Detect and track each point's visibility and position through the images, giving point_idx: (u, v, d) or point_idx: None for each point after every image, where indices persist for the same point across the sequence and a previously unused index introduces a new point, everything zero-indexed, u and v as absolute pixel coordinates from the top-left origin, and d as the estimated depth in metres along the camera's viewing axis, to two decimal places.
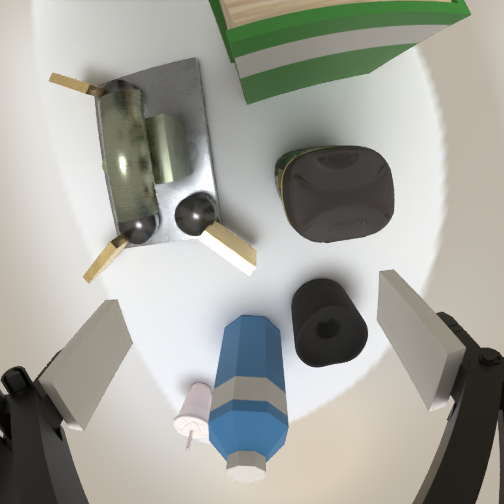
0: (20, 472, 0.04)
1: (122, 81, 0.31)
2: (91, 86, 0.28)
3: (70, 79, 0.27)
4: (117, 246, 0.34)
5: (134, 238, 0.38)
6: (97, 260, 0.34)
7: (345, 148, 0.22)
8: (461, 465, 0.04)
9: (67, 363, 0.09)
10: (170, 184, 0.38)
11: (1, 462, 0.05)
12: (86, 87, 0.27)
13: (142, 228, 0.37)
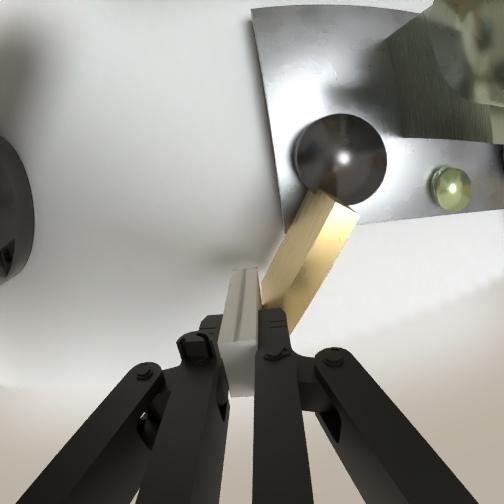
0: (157, 455, 0.06)
1: (306, 139, 0.15)
2: (336, 201, 0.12)
3: (301, 273, 0.13)
4: None
5: None
6: None
7: None
8: (277, 459, 0.05)
9: (241, 324, 0.11)
10: None
11: (125, 457, 0.06)
12: (341, 212, 0.12)
13: None
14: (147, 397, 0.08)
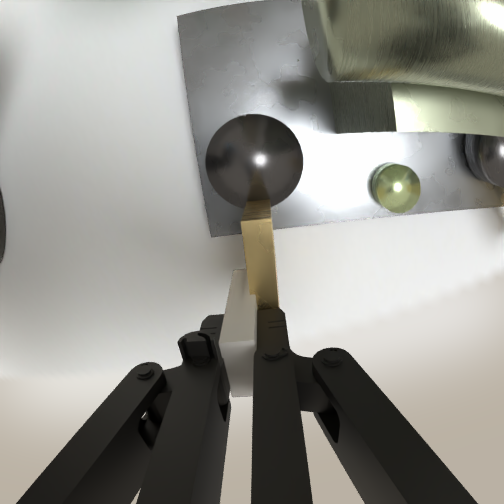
0: (158, 455, 0.06)
1: (209, 166, 0.15)
2: (246, 217, 0.12)
3: None
4: None
5: None
6: None
7: None
8: (276, 459, 0.05)
9: (242, 323, 0.11)
10: None
11: (126, 457, 0.06)
12: (252, 226, 0.12)
13: None
14: (148, 397, 0.08)
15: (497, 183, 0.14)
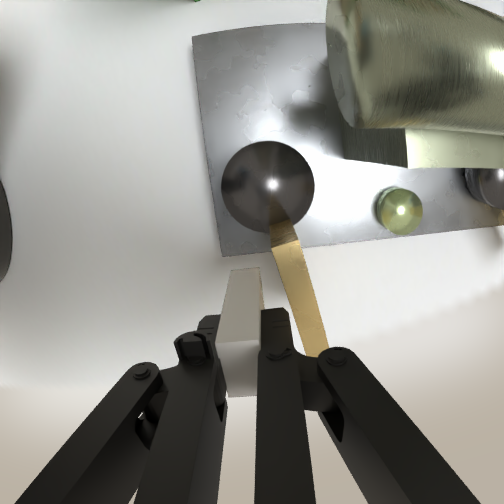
0: (155, 455, 0.06)
1: (227, 200, 0.16)
2: (274, 242, 0.13)
3: (296, 312, 0.14)
4: None
5: None
6: None
7: None
8: (280, 459, 0.05)
9: (239, 324, 0.11)
10: None
11: (123, 457, 0.06)
12: (282, 250, 0.13)
13: None
14: (145, 397, 0.08)
15: (495, 205, 0.16)
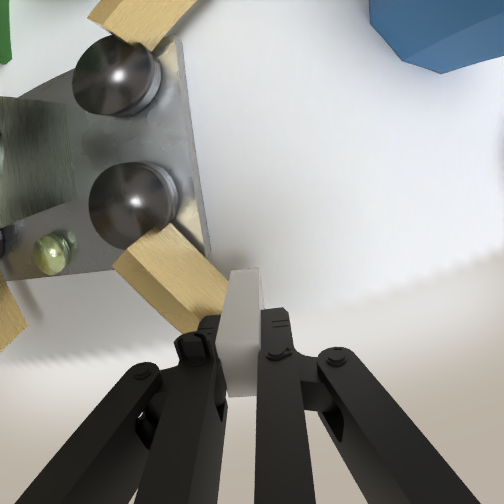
0: (155, 455, 0.06)
1: None
2: None
3: None
4: None
5: (152, 212, 0.16)
6: (166, 314, 0.13)
7: None
8: (279, 459, 0.05)
9: (239, 324, 0.11)
10: (79, 141, 0.17)
11: (123, 457, 0.06)
12: None
13: (130, 189, 0.15)
14: (145, 397, 0.08)
15: None
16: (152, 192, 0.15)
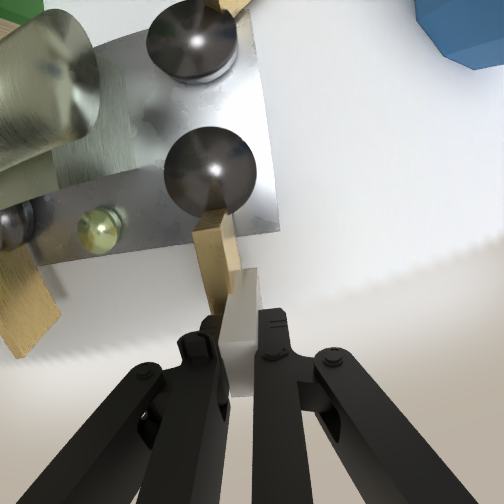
0: (158, 455, 0.06)
1: None
2: None
3: None
4: (216, 224, 0.13)
5: (233, 194, 0.16)
6: (212, 301, 0.14)
7: None
8: (277, 459, 0.05)
9: (242, 323, 0.11)
10: (140, 107, 0.17)
11: (125, 457, 0.06)
12: None
13: (226, 161, 0.15)
14: (147, 397, 0.08)
15: (172, 198, 0.16)
16: (245, 178, 0.16)
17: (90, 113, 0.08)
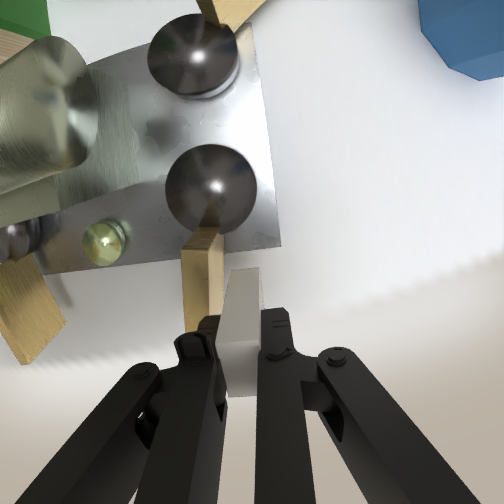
0: (155, 455, 0.06)
1: None
2: None
3: None
4: (206, 247, 0.13)
5: (228, 216, 0.16)
6: (188, 316, 0.14)
7: None
8: (280, 459, 0.05)
9: (239, 324, 0.11)
10: (143, 122, 0.17)
11: (123, 457, 0.06)
12: None
13: (229, 182, 0.16)
14: (145, 397, 0.08)
15: (169, 207, 0.16)
16: (243, 202, 0.16)
17: (87, 139, 0.08)
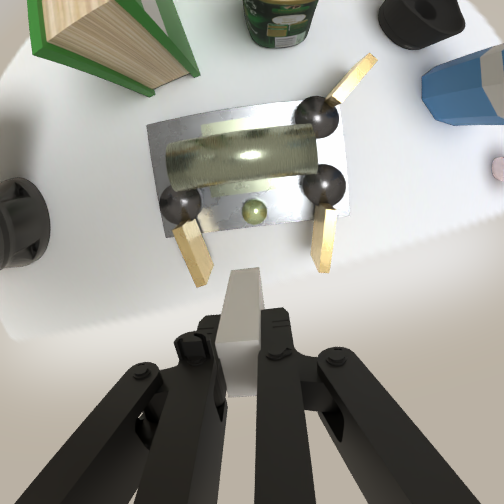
0: (155, 455, 0.06)
1: (162, 210, 0.35)
2: (174, 228, 0.32)
3: (185, 257, 0.33)
4: (334, 209, 0.31)
5: (333, 198, 0.34)
6: (324, 240, 0.32)
7: None
8: (280, 458, 0.05)
9: (239, 324, 0.11)
10: None
11: (123, 457, 0.06)
12: (176, 231, 0.32)
13: (334, 182, 0.33)
14: (145, 397, 0.08)
15: (305, 192, 0.34)
16: (340, 192, 0.34)
17: None
